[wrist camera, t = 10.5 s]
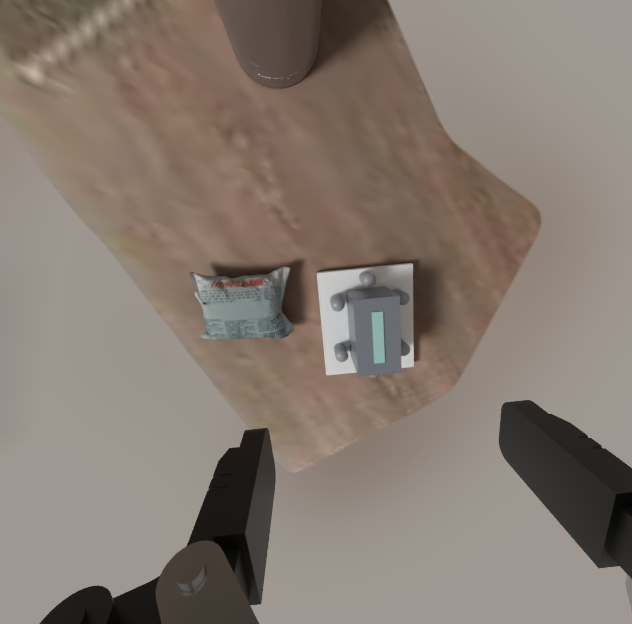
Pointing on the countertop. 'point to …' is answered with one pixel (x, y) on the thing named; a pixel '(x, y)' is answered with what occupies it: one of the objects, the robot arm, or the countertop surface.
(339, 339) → the pegged holder plate
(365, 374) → the block
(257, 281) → the packaged food
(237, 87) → the countertop surface
